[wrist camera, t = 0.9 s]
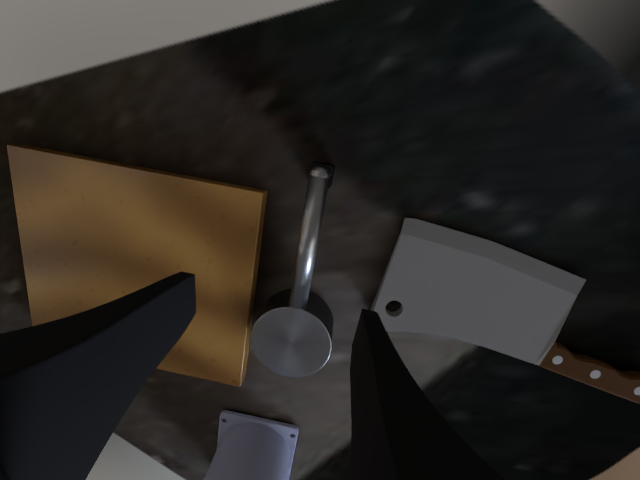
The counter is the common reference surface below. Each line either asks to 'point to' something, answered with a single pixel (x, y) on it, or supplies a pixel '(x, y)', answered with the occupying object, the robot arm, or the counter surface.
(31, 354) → the robot arm
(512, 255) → the kitchen cleaver
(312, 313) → the grey disc-end rod
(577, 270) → the counter surface
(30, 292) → the chopping board
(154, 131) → the counter surface
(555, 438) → the counter surface
